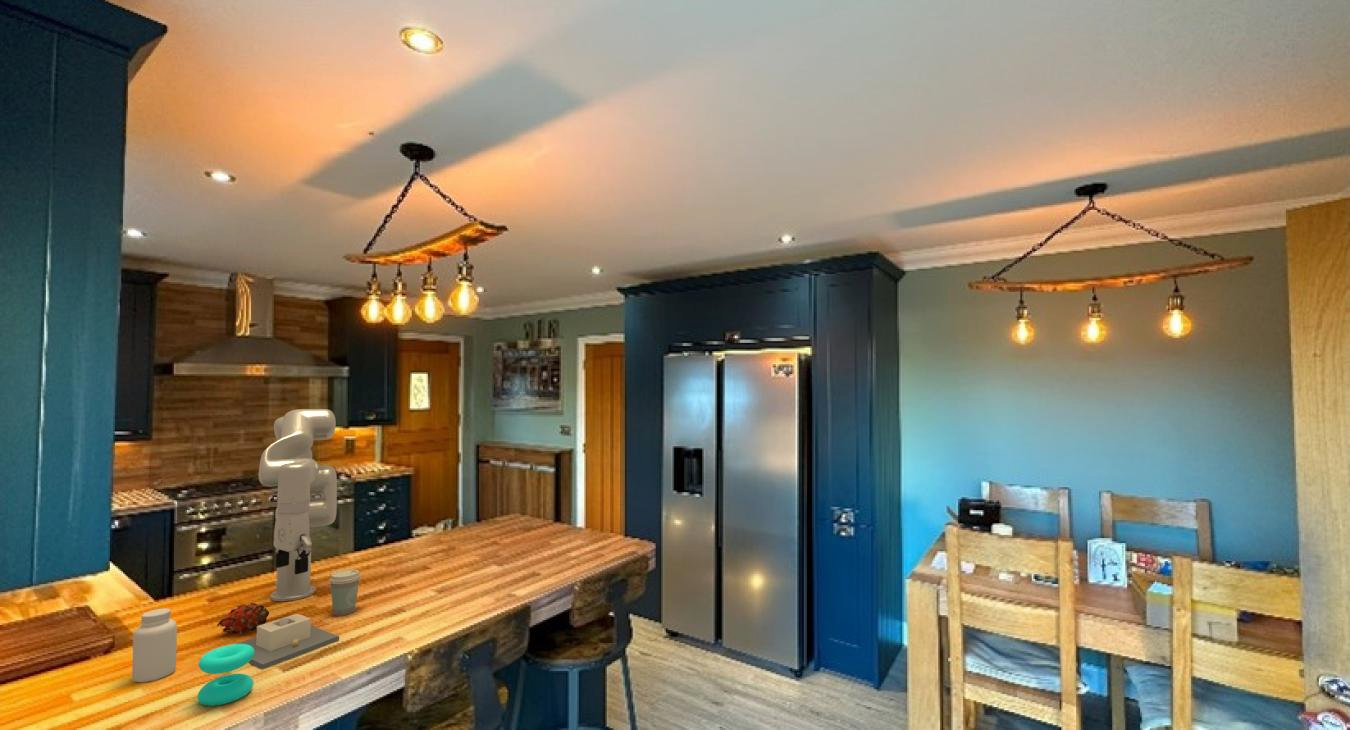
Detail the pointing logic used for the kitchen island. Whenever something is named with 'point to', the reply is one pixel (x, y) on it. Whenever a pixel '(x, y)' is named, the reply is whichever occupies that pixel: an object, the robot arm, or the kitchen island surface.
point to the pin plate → (289, 647)
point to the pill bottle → (154, 646)
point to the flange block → (283, 632)
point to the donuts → (227, 685)
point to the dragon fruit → (244, 618)
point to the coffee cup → (344, 591)
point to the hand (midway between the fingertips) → (291, 569)
